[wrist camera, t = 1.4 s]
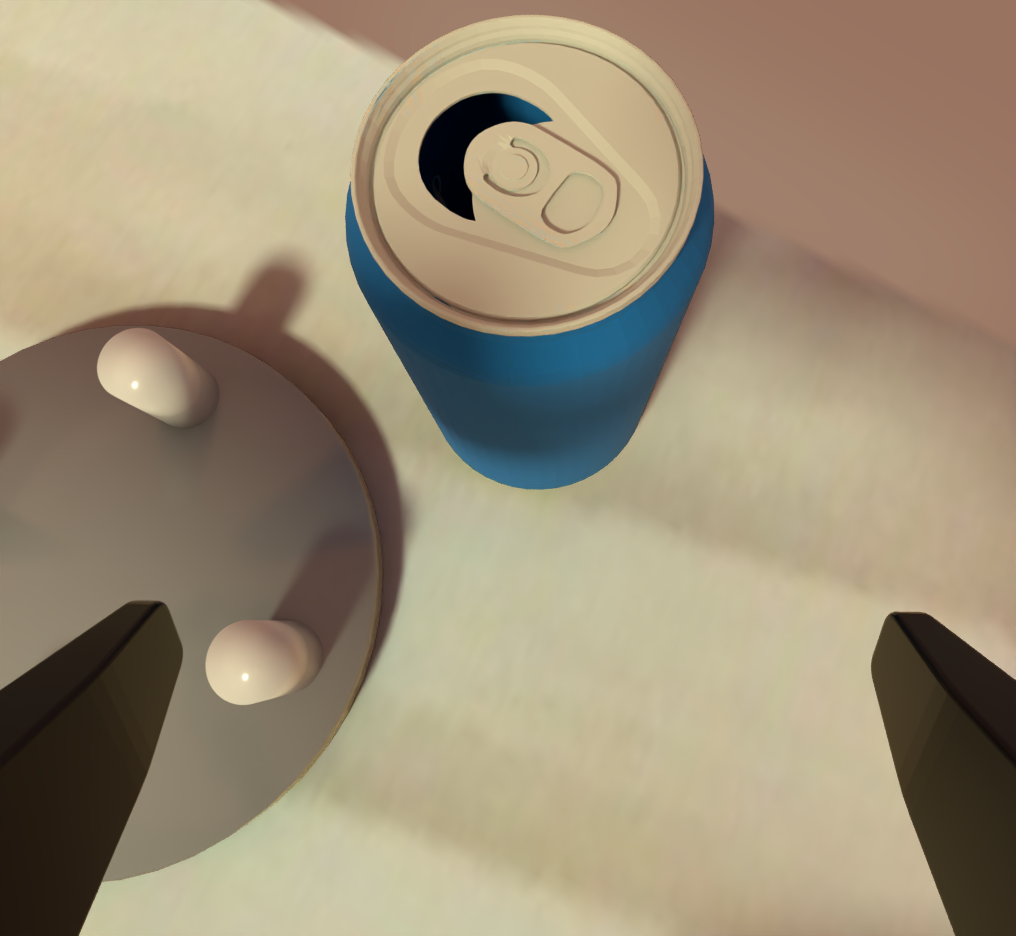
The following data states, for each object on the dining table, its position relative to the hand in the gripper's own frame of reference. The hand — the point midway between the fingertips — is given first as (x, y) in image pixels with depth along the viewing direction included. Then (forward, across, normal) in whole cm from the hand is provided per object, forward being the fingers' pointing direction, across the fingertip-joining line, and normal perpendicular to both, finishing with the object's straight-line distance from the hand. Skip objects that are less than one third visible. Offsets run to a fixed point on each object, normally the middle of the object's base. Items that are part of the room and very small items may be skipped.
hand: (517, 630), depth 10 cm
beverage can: (+14, 0, +4) cm, 15 cm away
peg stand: (+10, +13, +8) cm, 18 cm away
